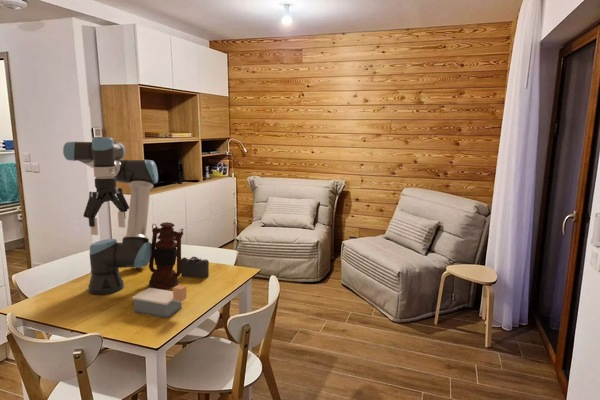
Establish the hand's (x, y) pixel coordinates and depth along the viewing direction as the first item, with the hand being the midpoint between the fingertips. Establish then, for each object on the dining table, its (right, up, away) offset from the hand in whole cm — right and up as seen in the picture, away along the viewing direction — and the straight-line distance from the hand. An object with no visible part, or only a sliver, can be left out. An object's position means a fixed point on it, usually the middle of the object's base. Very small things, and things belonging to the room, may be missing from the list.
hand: (108, 230), depth 160 cm
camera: (+22, -27, +52) cm, 62 cm away
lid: (+19, -29, +8) cm, 36 cm away
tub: (+16, -34, +9) cm, 39 cm away
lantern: (+9, -28, +38) cm, 48 cm away
